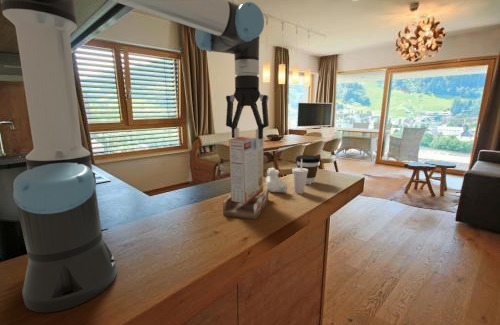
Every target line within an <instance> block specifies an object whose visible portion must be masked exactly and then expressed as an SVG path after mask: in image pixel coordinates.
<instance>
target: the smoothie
mask: <svg viewBox="0 0 500 325" xmlns="http://www.w3.org/2000/svg"><path fill="white" fill-rule="evenodd" d="M291 172H292V176H293V177H292V178H293V179H292V180H293V190H294V193H295V192H296V193H299V194H298V195H303V194H304V193H305V189H306V188H305V187H306V184H305V183H306V178H307V173H308V169H305V168H302V159H301V168H297V167H293V168H292V169H291ZM296 193H295V194H296ZM302 193H303V194H302Z"/></svg>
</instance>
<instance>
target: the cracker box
mask: <svg viewBox="0 0 500 325" xmlns="http://www.w3.org/2000/svg"><path fill="white" fill-rule="evenodd" d="M228 142H229V143H228V144H229V146H228V147H229V149H228V150H229V171H230V172H229V173H230V176H229V178H230V195H231V201H232V202H238V203H243V204H246V203H248V202H249V201H250V200H252V199H253V198H255V197H256V196H257V195H259V194H260V195H261V194H262V193H263V192H264V137H263V138H262V139H260V149H258V150H256V134H247V135H241V136H239V137H238V138H230V139H229V140H228Z"/></svg>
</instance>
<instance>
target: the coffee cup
mask: <svg viewBox="0 0 500 325" xmlns="http://www.w3.org/2000/svg"><path fill="white" fill-rule="evenodd" d="M301 159H302V168H305V169H308V173H307V178H306V184H305V185H311V184H310V183H313V184H314V182H315V180H316V176H317V172H318V168H319V163H320V162H321V159H320V157H319V156H318V155H312V154H311V155H310V154H300V155H297V156H296V158H295V161H296V168H301Z"/></svg>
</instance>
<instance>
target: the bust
mask: <svg viewBox="0 0 500 325" xmlns="http://www.w3.org/2000/svg"><path fill="white" fill-rule="evenodd" d="M266 174H267V176H266V178H265V185H266V188H268V191H269V192H271V193H283V194H284V193H285V194H286V192H287V191H288V185H287V183H286V181H285V180H283V179H281V178H280V177H279V174H280V171H279V170H278V169H276V168H275V167H273V166H272V167H269V168H268V169H267V170H266Z"/></svg>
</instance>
